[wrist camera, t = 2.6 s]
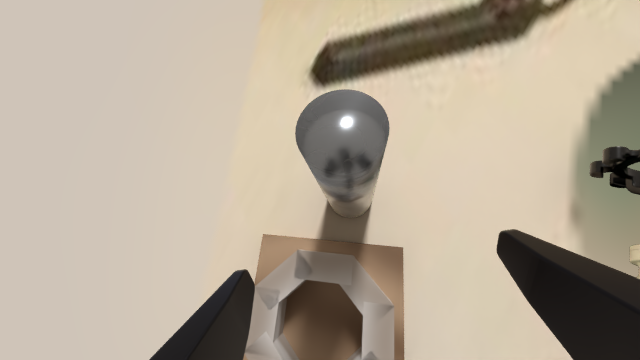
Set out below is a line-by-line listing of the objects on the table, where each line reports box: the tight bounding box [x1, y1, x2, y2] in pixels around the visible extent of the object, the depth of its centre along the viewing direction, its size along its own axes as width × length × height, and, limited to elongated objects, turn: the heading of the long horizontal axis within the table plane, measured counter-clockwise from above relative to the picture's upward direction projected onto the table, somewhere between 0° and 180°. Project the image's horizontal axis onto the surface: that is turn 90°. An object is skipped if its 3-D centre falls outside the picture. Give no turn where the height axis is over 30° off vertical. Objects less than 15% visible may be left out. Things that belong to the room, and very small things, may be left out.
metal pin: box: [295, 90, 389, 218], centre depth 15 cm, size 4×4×12 cm
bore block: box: [243, 234, 404, 360], centre depth 17 cm, size 12×12×3 cm
